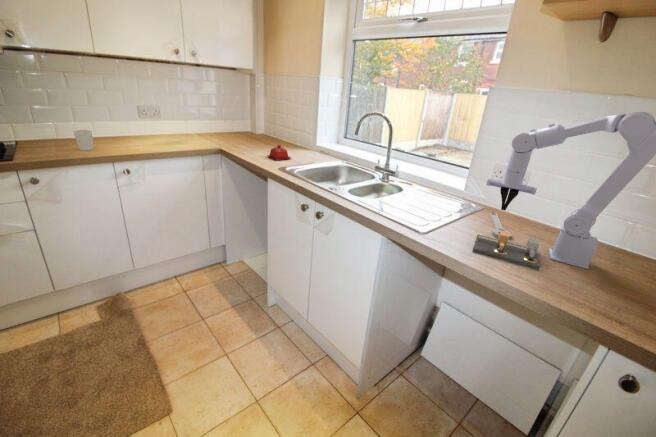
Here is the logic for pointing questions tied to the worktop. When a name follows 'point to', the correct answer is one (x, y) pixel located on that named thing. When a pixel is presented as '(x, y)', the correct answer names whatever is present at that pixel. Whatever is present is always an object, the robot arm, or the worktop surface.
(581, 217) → the robot arm
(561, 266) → the worktop surface
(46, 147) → the worktop surface
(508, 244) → the hole plate
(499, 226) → the adjustable wrench
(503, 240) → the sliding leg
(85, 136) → the white cup
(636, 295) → the worktop surface
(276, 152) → the butter dish
